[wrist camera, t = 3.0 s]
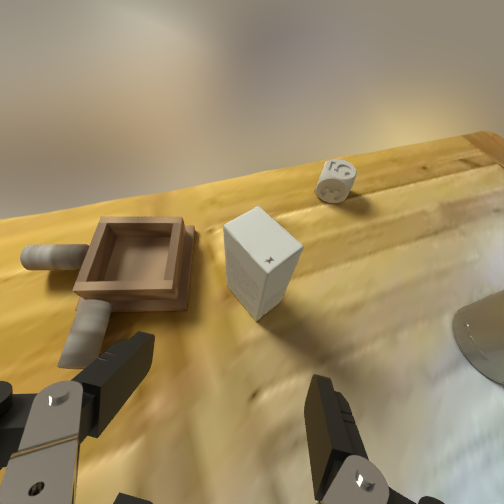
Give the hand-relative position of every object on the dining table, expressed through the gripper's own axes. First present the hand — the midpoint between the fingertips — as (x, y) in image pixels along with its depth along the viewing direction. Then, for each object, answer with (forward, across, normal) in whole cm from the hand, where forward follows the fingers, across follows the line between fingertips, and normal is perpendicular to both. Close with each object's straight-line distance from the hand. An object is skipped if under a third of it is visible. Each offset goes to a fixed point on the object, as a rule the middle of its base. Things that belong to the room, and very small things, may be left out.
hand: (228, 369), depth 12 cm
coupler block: (+16, +17, +5) cm, 23 cm away
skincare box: (+18, 0, +3) cm, 18 cm away
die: (+33, -9, -12) cm, 36 cm away
